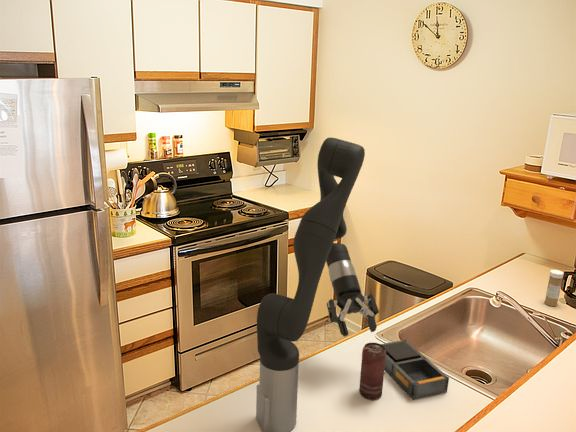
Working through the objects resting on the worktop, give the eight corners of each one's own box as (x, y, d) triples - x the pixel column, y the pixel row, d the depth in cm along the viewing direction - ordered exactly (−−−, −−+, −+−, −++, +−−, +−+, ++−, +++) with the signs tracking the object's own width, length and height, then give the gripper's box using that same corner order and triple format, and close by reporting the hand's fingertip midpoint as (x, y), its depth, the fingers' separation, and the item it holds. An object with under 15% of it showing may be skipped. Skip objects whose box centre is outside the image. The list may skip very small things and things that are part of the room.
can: (354, 389, 138) (357, 343, 134) (374, 385, 141) (378, 340, 137) (365, 402, 133) (369, 355, 129) (386, 398, 135) (390, 351, 131)
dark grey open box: (412, 400, 135) (414, 383, 133) (372, 358, 153) (373, 343, 152) (447, 392, 138) (449, 376, 137) (404, 352, 157) (405, 338, 156)
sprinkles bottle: (547, 300, 198) (553, 268, 194) (559, 304, 194) (566, 272, 190) (542, 303, 195) (548, 270, 191) (554, 307, 191) (560, 274, 188)
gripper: (325, 276, 141) (341, 333, 134) (370, 271, 146) (388, 325, 139) (317, 286, 147) (331, 341, 140) (360, 281, 152) (377, 333, 145)
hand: (360, 333), depth 140 cm, fingers open, 8 cm apart
